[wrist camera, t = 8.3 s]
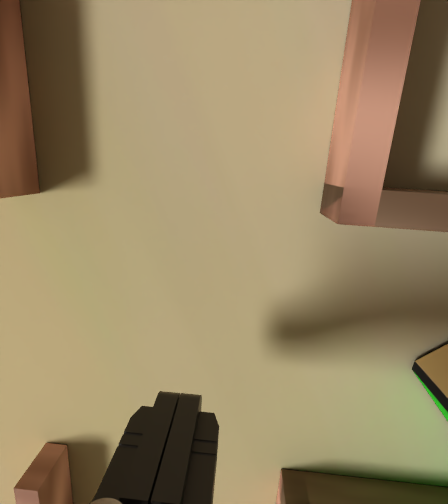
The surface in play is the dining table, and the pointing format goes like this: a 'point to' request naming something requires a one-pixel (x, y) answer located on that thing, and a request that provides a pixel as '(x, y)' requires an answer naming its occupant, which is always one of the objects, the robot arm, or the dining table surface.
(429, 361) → the puzzle cube
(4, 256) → the dining table surface
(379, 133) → the bent wall strips
